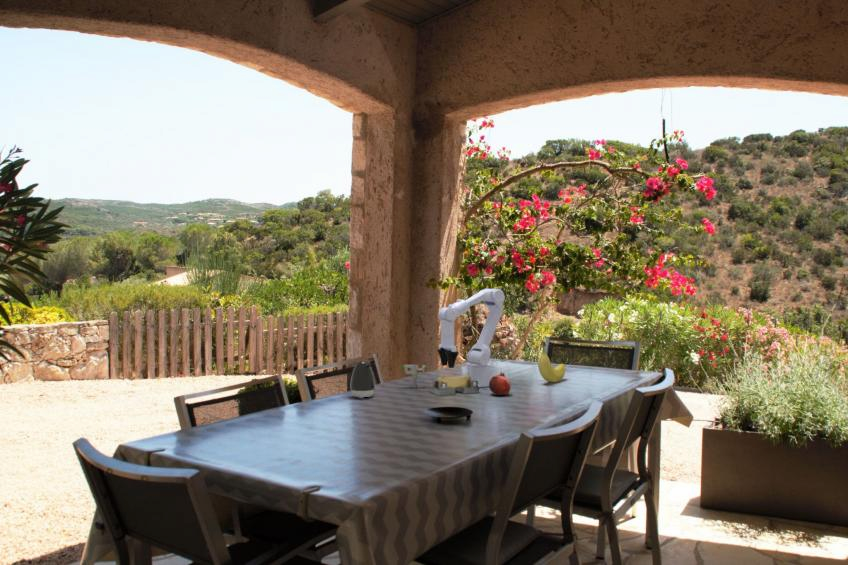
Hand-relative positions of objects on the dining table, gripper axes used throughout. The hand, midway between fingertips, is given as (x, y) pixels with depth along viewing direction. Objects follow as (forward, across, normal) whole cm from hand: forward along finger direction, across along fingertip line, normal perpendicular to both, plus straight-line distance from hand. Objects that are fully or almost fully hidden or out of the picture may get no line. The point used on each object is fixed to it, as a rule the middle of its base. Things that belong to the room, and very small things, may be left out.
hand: (447, 366), depth 309 cm
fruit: (+10, +20, +15) cm, 27 cm away
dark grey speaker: (+10, +3, -39) cm, 40 cm away
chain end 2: (+10, +8, +6) cm, 14 cm away
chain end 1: (+10, +8, -6) cm, 14 cm away
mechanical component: (+10, -9, -12) cm, 18 cm away
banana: (+10, +2, +51) cm, 52 cm away
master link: (+7, +8, 0) cm, 11 cm away
